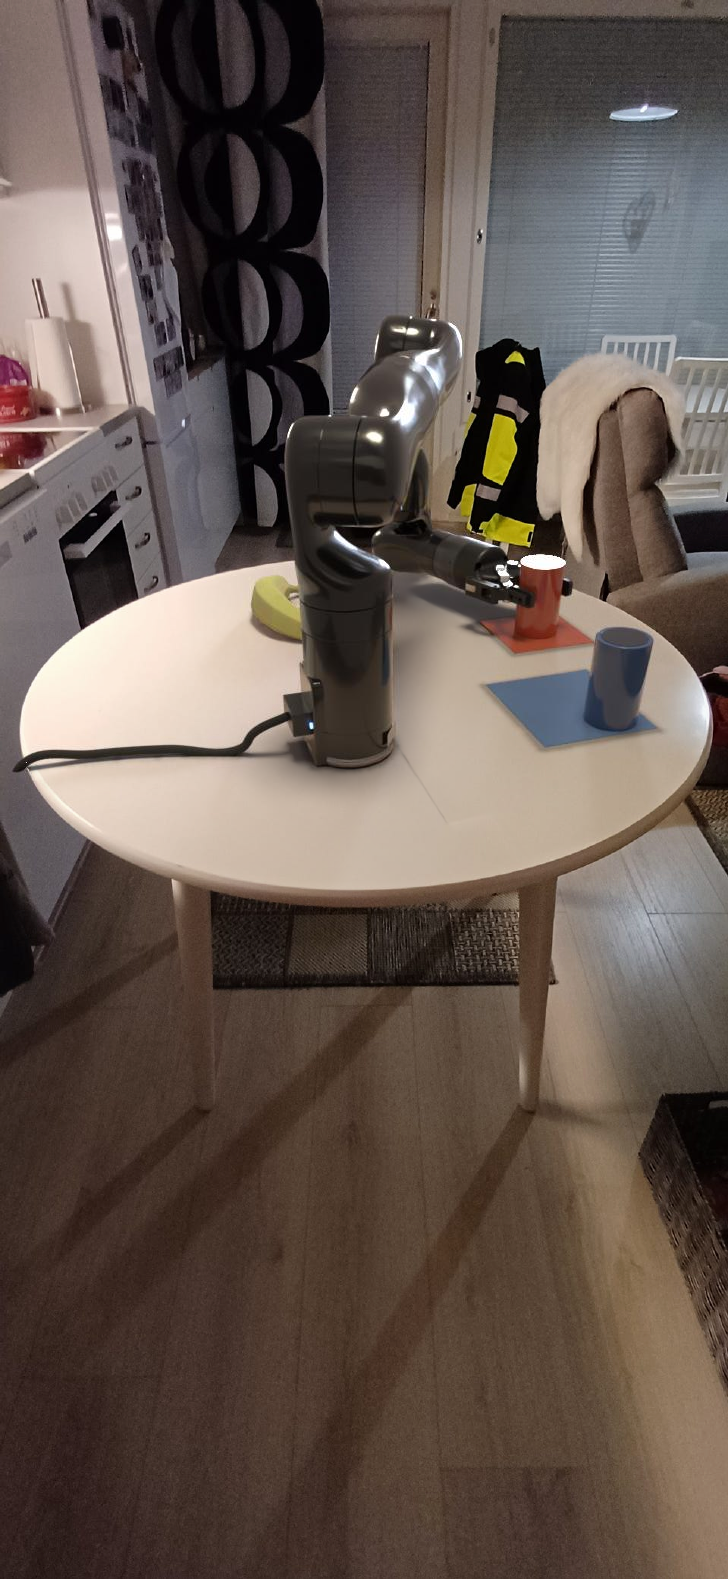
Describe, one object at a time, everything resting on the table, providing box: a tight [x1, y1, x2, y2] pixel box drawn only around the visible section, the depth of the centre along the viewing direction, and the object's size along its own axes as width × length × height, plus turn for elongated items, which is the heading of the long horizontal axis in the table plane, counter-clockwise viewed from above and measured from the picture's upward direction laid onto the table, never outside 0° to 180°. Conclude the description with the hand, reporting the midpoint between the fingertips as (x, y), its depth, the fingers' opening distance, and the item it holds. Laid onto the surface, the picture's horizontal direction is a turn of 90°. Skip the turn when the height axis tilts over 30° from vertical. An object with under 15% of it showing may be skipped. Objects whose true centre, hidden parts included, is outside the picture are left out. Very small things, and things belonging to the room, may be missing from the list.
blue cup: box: [583, 626, 655, 731], centre depth 86 cm, size 6×6×10 cm
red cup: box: [514, 554, 567, 639], centre depth 108 cm, size 6×6×10 cm
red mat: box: [479, 615, 595, 654], centre depth 111 cm, size 12×12×1 cm
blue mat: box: [485, 669, 658, 748], centre depth 92 cm, size 14×16×1 cm
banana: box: [250, 574, 302, 641], centre depth 117 cm, size 14×6×20 cm
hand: (552, 595), depth 106 cm, fingers open, 7 cm apart
